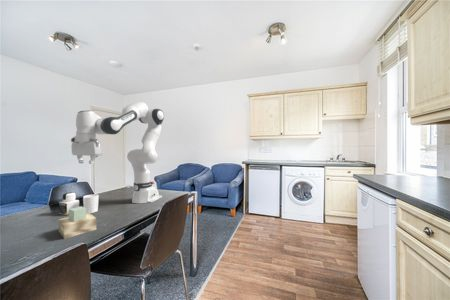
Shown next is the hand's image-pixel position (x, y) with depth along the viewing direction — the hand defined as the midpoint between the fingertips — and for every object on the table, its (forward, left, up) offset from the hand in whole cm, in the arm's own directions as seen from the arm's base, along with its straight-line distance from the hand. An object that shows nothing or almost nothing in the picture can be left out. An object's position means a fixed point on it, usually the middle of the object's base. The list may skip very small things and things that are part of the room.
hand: (86, 163), depth 103 cm
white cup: (-8, -9, -31) cm, 34 cm away
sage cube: (+11, +13, -26) cm, 31 cm away
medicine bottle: (-2, -20, -31) cm, 37 cm away
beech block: (+11, +12, -32) cm, 36 cm away
